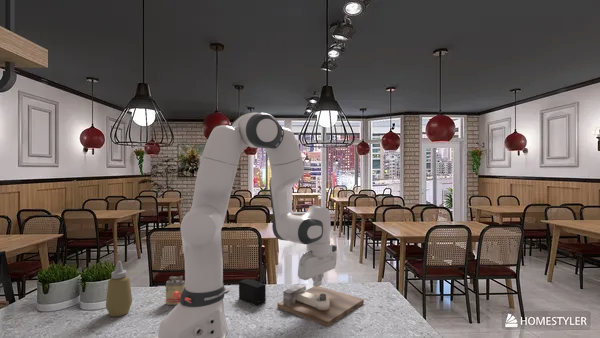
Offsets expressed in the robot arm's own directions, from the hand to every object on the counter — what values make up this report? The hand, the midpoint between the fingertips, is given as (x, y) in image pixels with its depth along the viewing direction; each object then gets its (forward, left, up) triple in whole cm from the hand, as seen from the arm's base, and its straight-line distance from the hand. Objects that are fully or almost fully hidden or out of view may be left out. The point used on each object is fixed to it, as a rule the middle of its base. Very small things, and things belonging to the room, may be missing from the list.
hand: (317, 285), depth 124 cm
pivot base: (-2, -3, -6) cm, 7 cm away
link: (-6, -1, -4) cm, 7 cm away
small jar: (-35, +40, -6) cm, 53 cm away
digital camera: (-15, +19, -6) cm, 25 cm away
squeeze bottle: (-52, +47, -6) cm, 70 cm away
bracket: (-17, +39, -7) cm, 43 cm away
